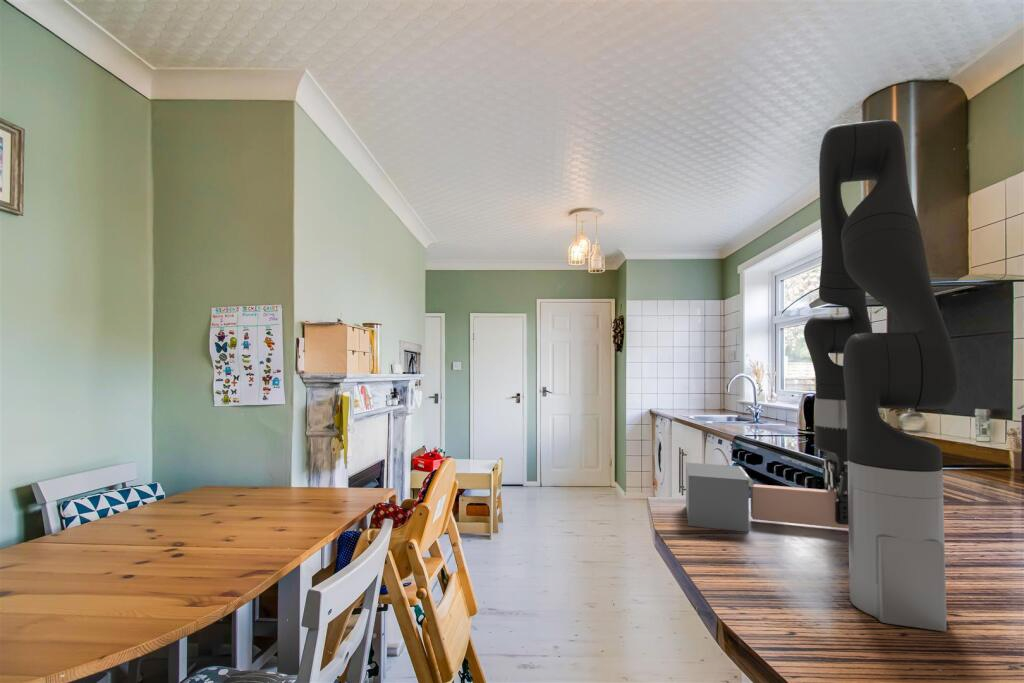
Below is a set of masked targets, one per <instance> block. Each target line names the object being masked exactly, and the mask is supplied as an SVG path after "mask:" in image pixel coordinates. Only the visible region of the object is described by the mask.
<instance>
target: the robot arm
mask: <svg viewBox="0 0 1024 683" xmlns="http://www.w3.org/2000/svg"><path fill="white" fill-rule="evenodd" d="M905 148H906V147H905V140H904V135H903V130H902V128H901V126H900V125H899V123H898V122H897V121H895V120H891V119H877V120H869V121H860V122H852V123H851V122H850V123H844V124H842V123H841V124H837V125H832V126H830V127H829V128H827V130H826V131H825V133H824V135H823V138H822V141H821V144H820V151H819V160H818V161H819V162H818V171H819V173H818V174H819V180H818V181H819V183H818V184H819V211H820V212H819V213H820V214H819V215H820V216H819V217H820V226H821V227H820V230H821V231H820V232H821V264H820V274H819V285H818V298H819V299H820V301H821V302H823V303H826V304H829V305H830V304H831V305H836V306H841V307H845V308H847V311H848V313H847V314H834V315H833V314H831V315H827V314H825V315H824V314H823V315H822V314H821V315H814V316H811V317H810V318H809V319H808V320H807V321H806V323H805V325H804V329H803V337H804V341H805V342H804V343H805V344H806V347H807V350H808V354H809V355H810V358H811V362H812V366H813V371H814V374H815V375H814V378H815V405H814V447H815V449H817V450H819V451H823V452H826V455H825V456H826V457H825V459H823V460H821V462H820V465H821V470H822V475H823V476H822V477H823V483H824V490H834V500H835V521H836V522H837V523H838V524H844V525H849V529H848V568H849V572H848V573H849V574H848V575H849V601H850V602H851V604H852V605H853V606H854V607H856V608H857V609H859V610H860V611H862V612H864V613H865V614H867V615H870V616H873V617H874V618H876V619H878V621H880V623H884V624H889V625H890V624H891V625H895V626H896V625H897V626H902V627H903V626H904V627H912V628H918V629H925V630H932V631H933V630H934V631H939V632H947V620H948V619H947V617H948V615H947V589H946V588H947V586H946V554H945V552H946V551H945V549H946V548H945V547H946V546H945V520H944V518H945V517H944V513H945V512H944V511H945V509H944V479H943V478H944V472H943V471H944V470H943V468H944V467H943V466H944V465H943V452H942V449H941V447H940V446H939V445H938V444H936V443H935V442H933V441H930V440H927V439H924V438H921V437H918V436H915V435H913V434H909V433H906V432H904V431H902V430H900V429H898V428H896V427H893V426H892V425H891V424H890V423H888V422H886V421H885V420H884V419H883V418H882V416H881V415H880V411H879V408H885V409H888V408H891V409H910V410H911V409H912V410H913V409H915V410H922V409H923V410H939V409H944V408H947V407H950V406H951V405H952V404H953V403H954V402H955V400H956V398H957V396H958V392H959V386H960V374H959V365H958V362H957V357H956V353H955V349H954V346H953V343H952V341H951V337H950V335H949V331H948V330H947V326H946V323H945V320H944V318H943V316H942V315H943V314H942V313H941V309H940V308H939V304H938V302H937V299H936V297H935V292H934V290H933V284H932V281H931V276H930V272H929V271H930V270H929V267H928V261H927V256H926V250H925V243H924V239H923V234H922V231H921V227H920V224H919V219H918V216H917V212H916V209H915V205H914V203H913V199H912V198H913V197H912V193H911V189H910V184H909V178H908V168H907V159H906V149H905ZM863 181H875V182H876V184H875V185H874V187H873V188H872V190H871V191H870V192H869V193H868V194H867V195H866V196H865V197H864V198H863V200H861V201H860V203H859V204H857V206H856V207H855V208H854V209H853V210H852V212H851V213H850V214H848V213H847V210H846V208H845V205H844V202H843V197H842V184H843V183H849V182H863ZM866 293H867V294H868V295H869V296H871V297H872V298H873V299H874V300H875V301H876V302H878V303H880V305H882V306H883V307H884V308H886V309H887V310H888V311H889V312H890V313H891V314H892V315H893V317H894V318H895V319H896V321H897V322H898V323H899V325H900V327H901V329H902V330H903V332H873V328H872V323H871V320H870V317H869V311H868V305H867V294H866ZM829 354H843V355H842V356H843V357H842V365H841V364H837V363H835V362H834V361H833V360H832V359H831V357H830V355H829ZM845 491H847V494H844V492H845Z"/></svg>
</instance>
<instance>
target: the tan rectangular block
mask: <svg viewBox="0 0 1024 683" xmlns="http://www.w3.org/2000/svg"><path fill="white" fill-rule="evenodd" d="M844 494H847V491H845V492H844ZM750 517H751V519H752V520H759V521H765V522H775V523H777V522H778V523H786V524H787V523H788V524H797V525H807V526H819V527H828V528H829V527H830V528H837V529H838V528H839V529H848V530H849V525H844V524H838V523H837V522H836V521H835V500H834V490H825V489H821V488H820V489H819V488H807V487H806V488H805V487H794V486H783V485H782V486H781V485H768V484H757V483H754V486H753V487H750Z"/></svg>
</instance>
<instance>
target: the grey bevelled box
mask: <svg viewBox="0 0 1024 683" xmlns="http://www.w3.org/2000/svg"><path fill="white" fill-rule="evenodd" d="M754 484H755V482H754V481H753V479H752V478H751V477H750V475H748V473H747V471H745V469H744V468H743V467H742V466H740V465H739V466H738V465H725V464H709V463H699V462H698V463H697V462H696V463H694V462H685V508H686V509H685V510H686V517H687V523H688V524H687V525H688V526H690V527H699V528H707V529H716V530H717V529H718V530H725V531H726V530H727V531H737V532H746V533H749V529H750V528H749V527H750V520H749V519H750V515H749V514H750V513H749V511H750V509H749V501H750V500H749V498H750V496H749V495H750V494H749V492H750V491H749V488H751V487H753V486H754Z"/></svg>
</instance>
